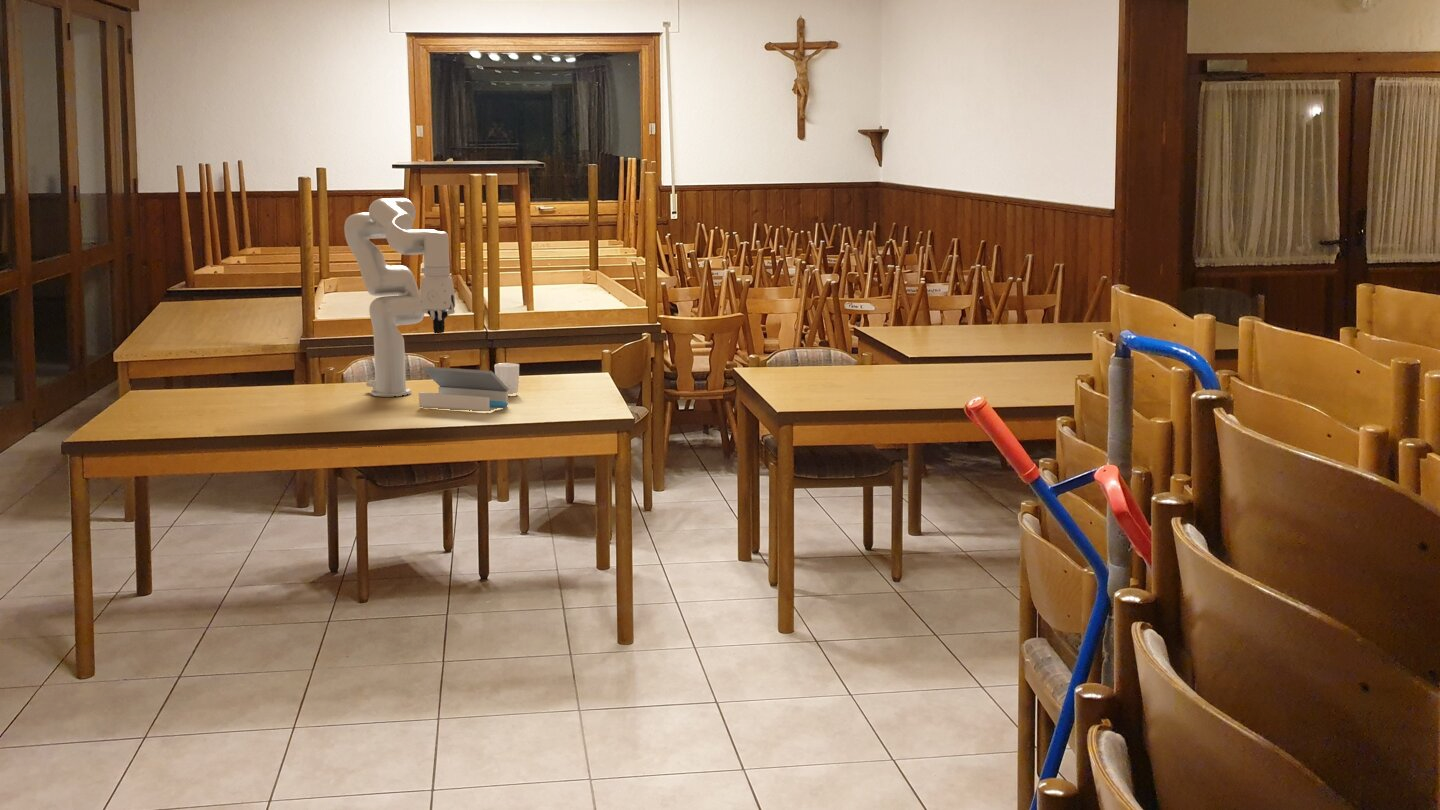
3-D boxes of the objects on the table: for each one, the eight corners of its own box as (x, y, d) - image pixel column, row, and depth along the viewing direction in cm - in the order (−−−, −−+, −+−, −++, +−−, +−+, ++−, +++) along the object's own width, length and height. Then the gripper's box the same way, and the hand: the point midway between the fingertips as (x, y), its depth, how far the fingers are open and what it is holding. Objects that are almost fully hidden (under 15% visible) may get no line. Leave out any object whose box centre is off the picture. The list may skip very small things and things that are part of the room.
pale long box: (419, 408, 435) (418, 392, 434) (440, 402, 446) (440, 386, 445) (488, 414, 427) (487, 397, 426) (508, 407, 438) (507, 391, 437)
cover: (422, 369, 435) (422, 366, 436) (440, 386, 445) (441, 383, 446) (490, 373, 427) (491, 370, 427) (507, 391, 437) (508, 388, 437)
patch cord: (422, 402, 440) (422, 396, 440) (426, 401, 442) (426, 395, 442) (505, 408, 430) (504, 402, 430) (508, 407, 432) (508, 401, 432)
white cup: (502, 392, 464) (501, 362, 462) (524, 394, 462) (523, 363, 460) (490, 396, 457) (489, 365, 455) (512, 398, 454) (512, 367, 452)
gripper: (409, 272, 430) (411, 333, 433) (451, 274, 424) (453, 335, 427) (422, 270, 436) (424, 330, 440) (465, 272, 431) (466, 332, 434)
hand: (439, 332), depth 434 cm, fingers closed
